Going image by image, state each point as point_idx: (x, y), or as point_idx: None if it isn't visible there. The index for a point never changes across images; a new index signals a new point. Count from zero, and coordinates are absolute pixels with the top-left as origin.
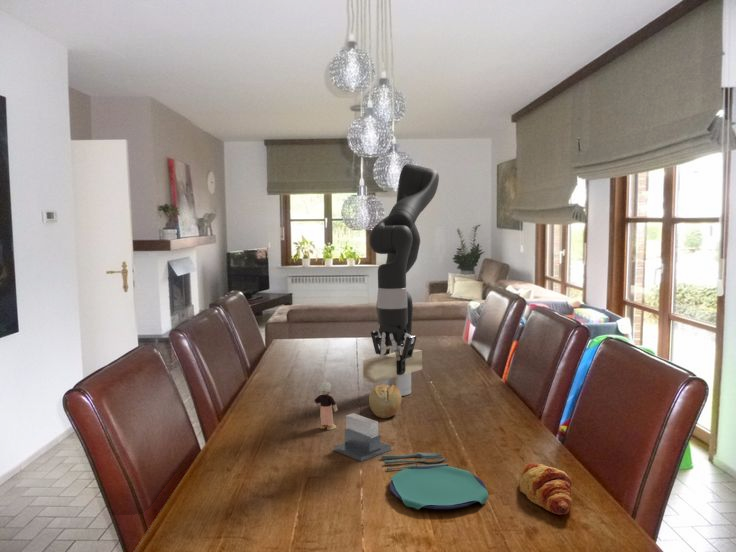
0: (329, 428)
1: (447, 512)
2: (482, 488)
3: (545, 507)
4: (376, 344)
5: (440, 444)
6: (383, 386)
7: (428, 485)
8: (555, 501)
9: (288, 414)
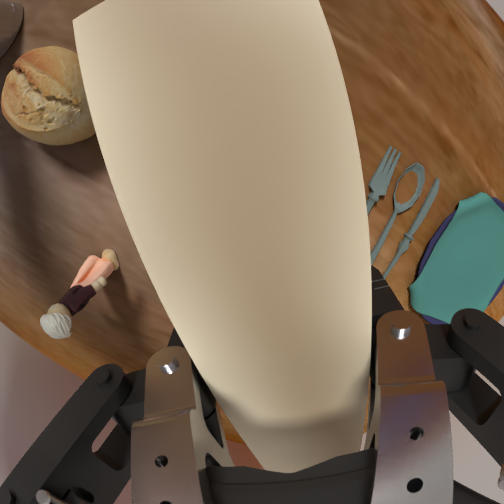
0: (116, 268)
1: None
2: None
3: None
4: (128, 476)
5: (352, 101)
6: (22, 100)
7: (461, 272)
8: None
9: (28, 284)
